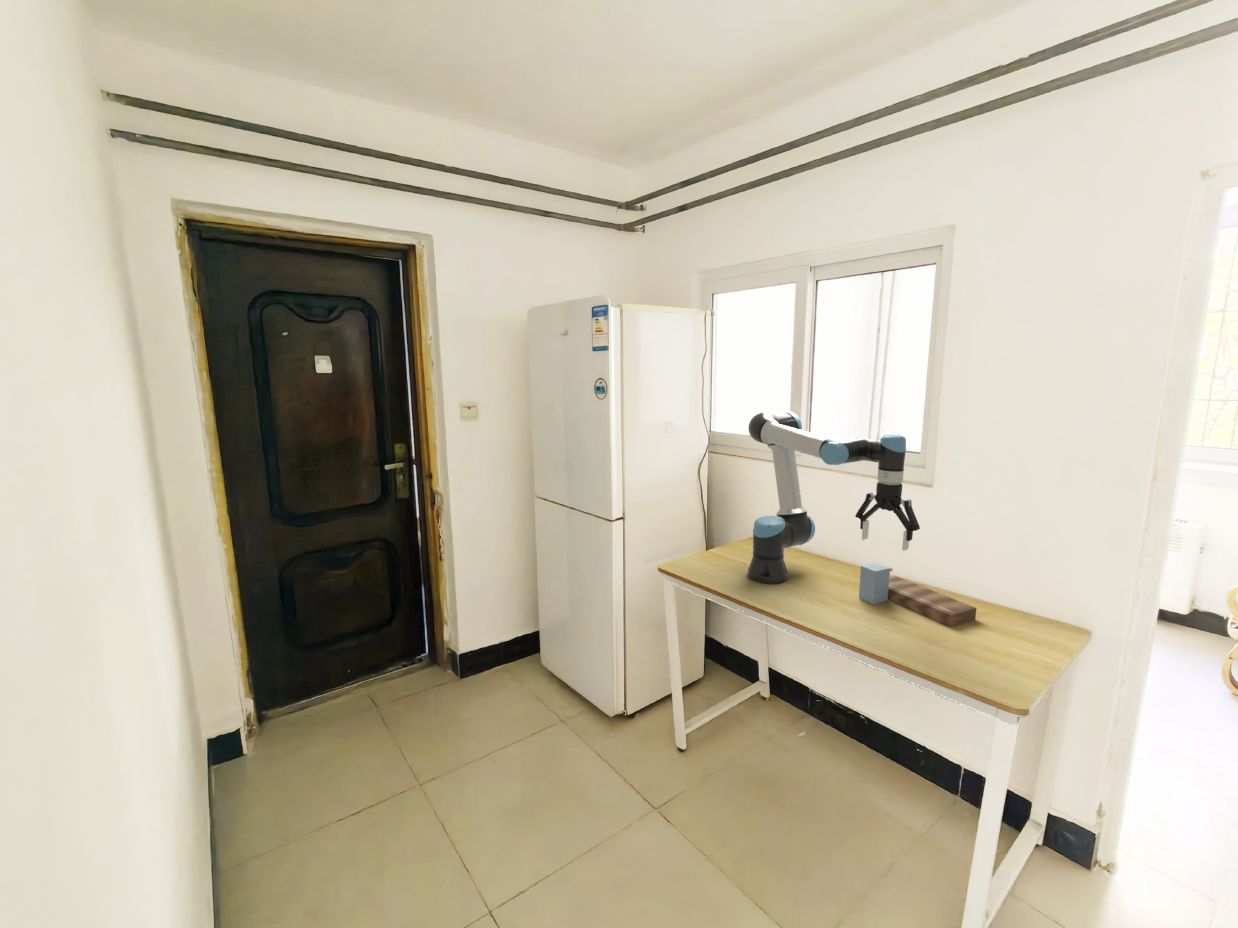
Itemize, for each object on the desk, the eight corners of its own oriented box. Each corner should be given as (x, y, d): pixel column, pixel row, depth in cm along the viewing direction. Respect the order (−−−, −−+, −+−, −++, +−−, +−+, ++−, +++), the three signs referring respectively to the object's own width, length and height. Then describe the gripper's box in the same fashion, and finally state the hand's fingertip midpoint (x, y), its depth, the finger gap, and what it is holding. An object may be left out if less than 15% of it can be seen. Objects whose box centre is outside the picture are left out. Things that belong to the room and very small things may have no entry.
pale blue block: (858, 597, 188) (860, 565, 186) (881, 592, 192) (883, 560, 190) (872, 604, 182) (875, 571, 180) (895, 598, 187) (898, 566, 185)
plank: (870, 591, 193) (871, 580, 192) (894, 585, 197) (895, 575, 197) (950, 627, 166) (951, 614, 165) (975, 619, 170) (976, 607, 170)
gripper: (847, 477, 182) (843, 536, 185) (924, 490, 162) (918, 556, 166) (859, 474, 186) (854, 532, 190) (935, 487, 166) (928, 551, 170)
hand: (884, 544), depth 178 cm, fingers open, 13 cm apart
